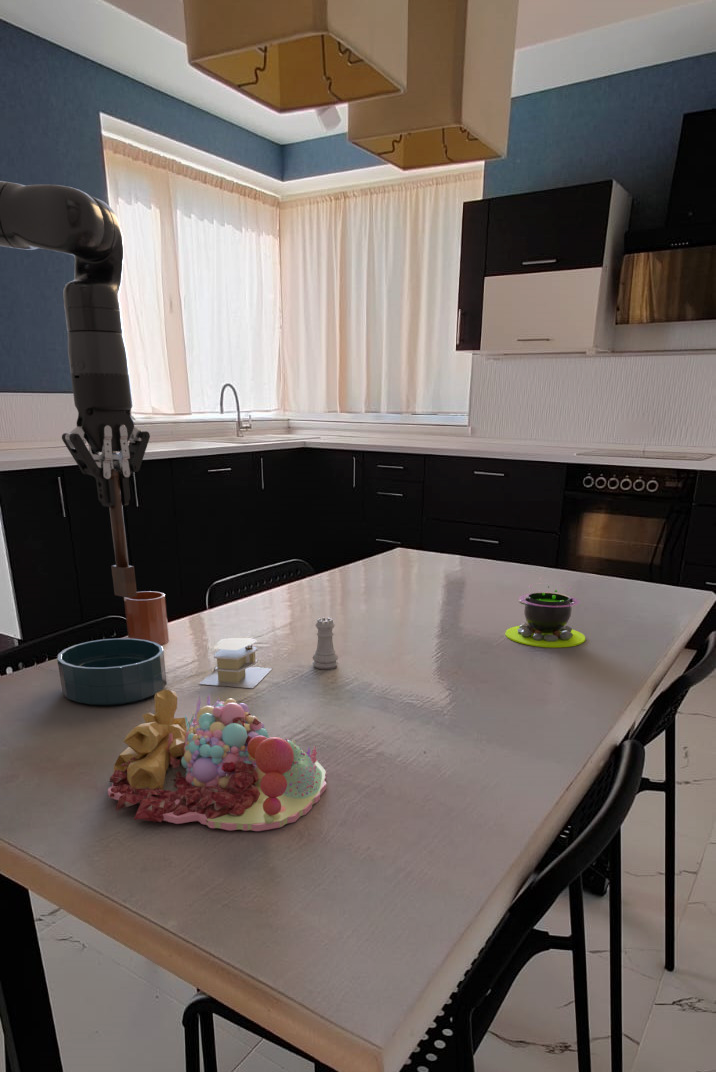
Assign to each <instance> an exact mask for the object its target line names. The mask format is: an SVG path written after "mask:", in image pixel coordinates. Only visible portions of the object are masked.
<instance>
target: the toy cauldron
mask: <svg viewBox="0 0 716 1072" xmlns="http://www.w3.org/2000/svg"><path fill="white" fill-rule="evenodd" d="M542 578H543V577H542V576H541V577H539V580H543V579H542ZM558 579H560V580H558V582H561V580H563V578H561V577H558ZM544 581H546V582H547V580H546V579H544ZM537 584H546V583H544V582H543V583H541V582H539V583H537ZM549 584H550V583H548V582H547V585H548V586H547V588H548V589H549V588H550V586H549ZM533 585H534V583H533V584H529V585H528V588H529V589H531V590H533V591H536V589H534V588H531V587H532V586H533ZM551 585H554V582H553V583H552V582H551ZM559 585H561V586H562V584H560V583H559ZM563 586H564V587H567V588H569V589H568V590H567V591H566V590H565V591H564V593H566V592H570V591H572V590H573V588H572V587H569V586H568V585H565V584H563ZM517 598H518V603H519V604H521V605H524V611H523V615H524V618H525V621H526V622H524V623H522V624H520V625H515V626H511V627H509V628H508V629H506V631H505V637H506V638H507V639H508V640H510V641H512V642H515V643H519V644H522V645H524V646H525V645H526V646H532V647H537V648H552V649H555V648H557V649H558V648H559V649H561V648H571V647H576V646H579V645H582V644H584V643H585V642H586V636H585V635H584V634H583V633H582V632H580V631H578V630H575V629H573V628H572V627H571V626H569V625H567V624H568V623H569V621H570V618H571V616H572V610H573V609H572V607H575V606H578V605H580V600H579V598H578V599H577V597H573V596H569V595H566V594H563V593H559V592H558V590H557V589H554V592H549V591H545V590H544V591H539V592H531V593H526V594H523V595H520V596H518V597H517Z"/></svg>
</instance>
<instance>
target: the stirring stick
mask: <svg viewBox="0 0 716 1072" xmlns="http://www.w3.org/2000/svg"><path fill="white" fill-rule="evenodd" d="M110 479H113V488H114V497H115V506H114V507H108V508H109V516H110V524H111V534H112V542H113V549H114V560H115V564H113V565H111V568H110V569H111V575H112V583H113V592H114V596H117V597H121V598H124V597H126V598H129V597H134V596H137V592H138V590H137V581H136V574H135V572H136V571H135V566H134V565H130V564H129V562H130V561H129V553H128V545H127V544H128V543H127V537H126V536H127V535H126V527H125V520H124V519H125V517H124V509H123V505H122V499H121V490H120V481H119V474H118V472H117V470H115V469H112V467H111V477H110Z"/></svg>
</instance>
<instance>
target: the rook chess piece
mask: <svg viewBox="0 0 716 1072" xmlns="http://www.w3.org/2000/svg"><path fill="white" fill-rule="evenodd" d="M316 621H317V622H316V623H315V625H314V626H315V627H316V628H317V633H316V635H317V644H316V649H315V651H314V654H313V655H312V663H311V664H312V666H313V667H314V668H316V669H318V670H332V669H335V668H337V666H338V665H339V661H338V660H339V656H338V654H337V653H336V650H335V648H334V641H333V636H334V632H333V629H334V627H336V625H335V623H334V619H333V618H331V617H327V620H326V617H322V618H321V617H318V618H317V619H316Z"/></svg>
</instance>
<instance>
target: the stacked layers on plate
mask: <svg viewBox="0 0 716 1072" xmlns="http://www.w3.org/2000/svg"><path fill="white" fill-rule="evenodd" d="M257 641H258V640H257V639H255V638H252V637H228V638H222V639H219V640H218V642H217V643H216V644H215V645H214V646H213V649H214V650H217V651H216V653H215V654H214V656H213V658H214V659H216V665H215V668H214V670H213V671H212V672H211V673H210V674H209V675H207V676H206V677H205V678H204V679H203V680H202V681H200V682H199V683H198V685H208V686H219V687H230V688H231V687H233V688H245V689H254V688H255V687H257V685H258V684H259V683H260V682H261V681H262V680H263V678H265V677H266V676H267V675H268V674H269V673H270V672H271V671H272V670H273V668H271V667H259V666H255V665H257V664H258V663H259V660H258V659H256V652H257V651H258V647H256V646H253V644H256V643H257Z"/></svg>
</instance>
